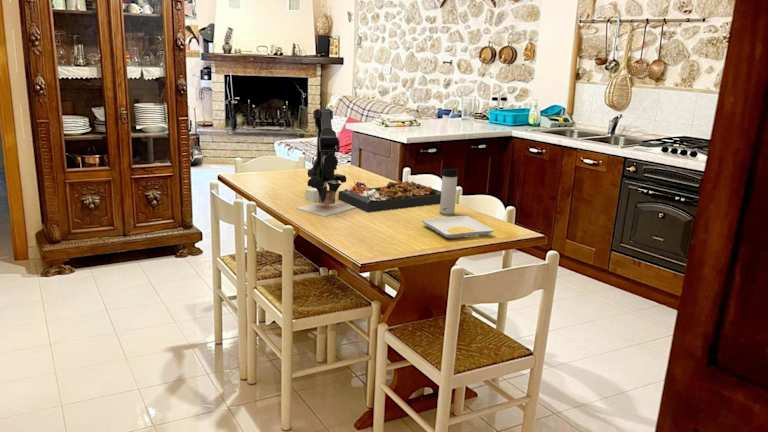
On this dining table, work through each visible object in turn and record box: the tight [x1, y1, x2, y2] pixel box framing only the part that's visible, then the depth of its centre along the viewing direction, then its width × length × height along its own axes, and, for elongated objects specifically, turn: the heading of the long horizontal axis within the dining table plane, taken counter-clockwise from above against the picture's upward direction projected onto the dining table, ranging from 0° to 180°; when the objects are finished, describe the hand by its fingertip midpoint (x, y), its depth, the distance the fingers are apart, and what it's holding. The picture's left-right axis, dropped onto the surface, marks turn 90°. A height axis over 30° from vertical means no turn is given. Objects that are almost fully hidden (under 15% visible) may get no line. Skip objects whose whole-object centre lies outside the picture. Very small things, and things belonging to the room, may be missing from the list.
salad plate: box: [421, 215, 494, 239], centre depth 241 cm, size 21×21×3 cm
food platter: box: [337, 178, 441, 213], centre depth 284 cm, size 45×25×10 cm, turn 124°
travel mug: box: [439, 168, 459, 216], centre depth 264 cm, size 6×7×20 cm
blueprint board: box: [296, 201, 357, 218], centre depth 265 cm, size 20×16×1 cm
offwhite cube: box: [305, 187, 319, 203], centre depth 278 cm, size 5×5×5 cm
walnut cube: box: [317, 189, 336, 205], centre depth 264 cm, size 5×5×5 cm
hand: (326, 200), depth 264 cm, fingers closed on walnut cube, 5 cm apart
